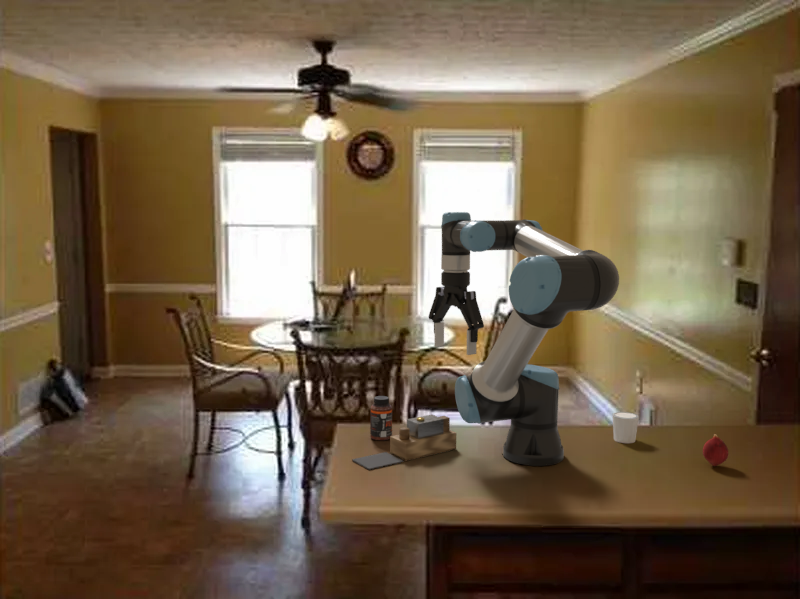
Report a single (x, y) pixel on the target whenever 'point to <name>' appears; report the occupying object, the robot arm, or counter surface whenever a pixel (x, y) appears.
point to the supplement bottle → (381, 419)
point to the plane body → (422, 443)
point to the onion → (715, 451)
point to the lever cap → (425, 426)
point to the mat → (377, 460)
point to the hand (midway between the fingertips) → (454, 350)
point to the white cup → (625, 427)
